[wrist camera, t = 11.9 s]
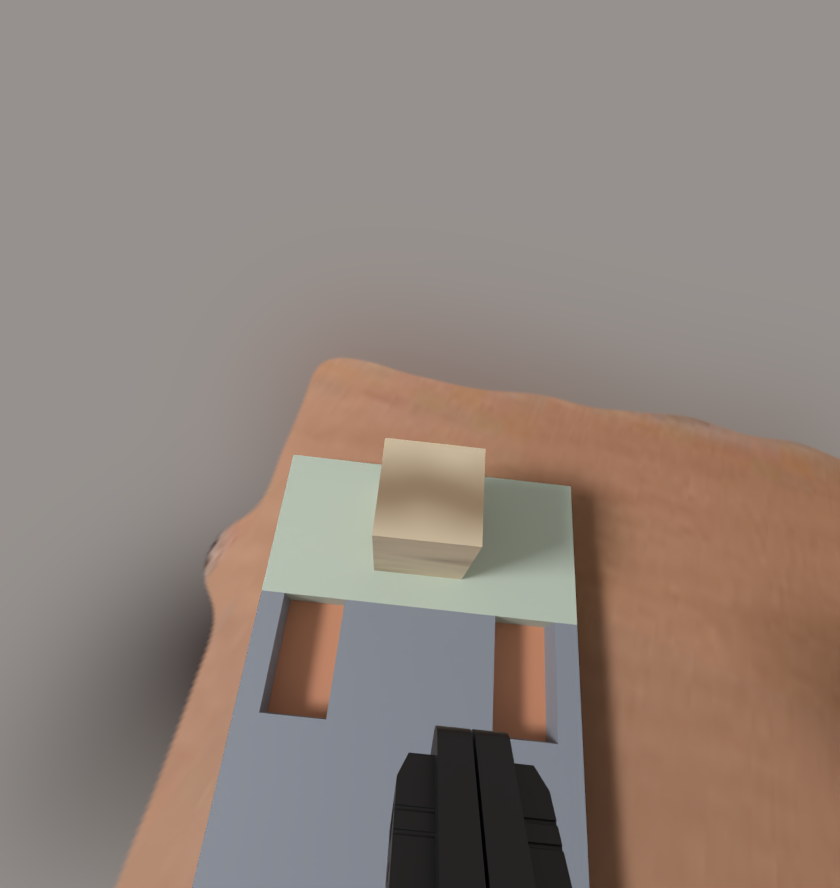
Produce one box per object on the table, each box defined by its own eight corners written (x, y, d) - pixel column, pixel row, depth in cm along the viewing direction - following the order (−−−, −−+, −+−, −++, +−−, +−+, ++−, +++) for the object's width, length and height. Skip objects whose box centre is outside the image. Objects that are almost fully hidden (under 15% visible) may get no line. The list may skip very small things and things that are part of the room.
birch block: (384, 488, 37) (385, 437, 30) (465, 497, 37) (485, 448, 30) (373, 570, 35) (372, 535, 27) (461, 579, 35) (482, 547, 28)
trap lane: (299, 471, 41) (293, 454, 38) (558, 500, 41) (570, 486, 38) (205, 888, 29) (187, 907, 26) (572, 924, 29) (592, 947, 26)
